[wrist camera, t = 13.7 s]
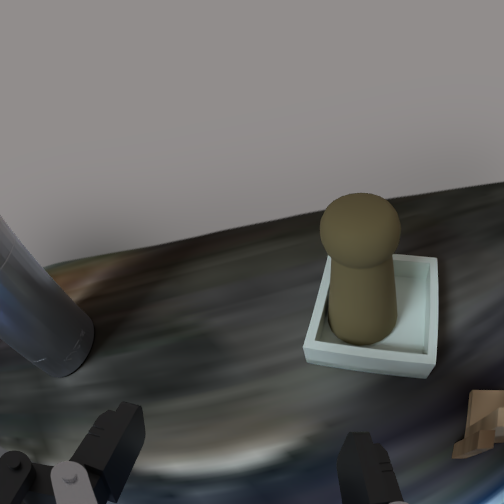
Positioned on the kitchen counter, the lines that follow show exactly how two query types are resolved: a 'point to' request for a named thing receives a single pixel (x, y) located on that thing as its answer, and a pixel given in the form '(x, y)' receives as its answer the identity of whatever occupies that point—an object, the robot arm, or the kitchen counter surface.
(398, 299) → the tray
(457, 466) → the kitchen counter surface
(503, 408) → the bracket
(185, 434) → the kitchen counter surface
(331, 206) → the cork
